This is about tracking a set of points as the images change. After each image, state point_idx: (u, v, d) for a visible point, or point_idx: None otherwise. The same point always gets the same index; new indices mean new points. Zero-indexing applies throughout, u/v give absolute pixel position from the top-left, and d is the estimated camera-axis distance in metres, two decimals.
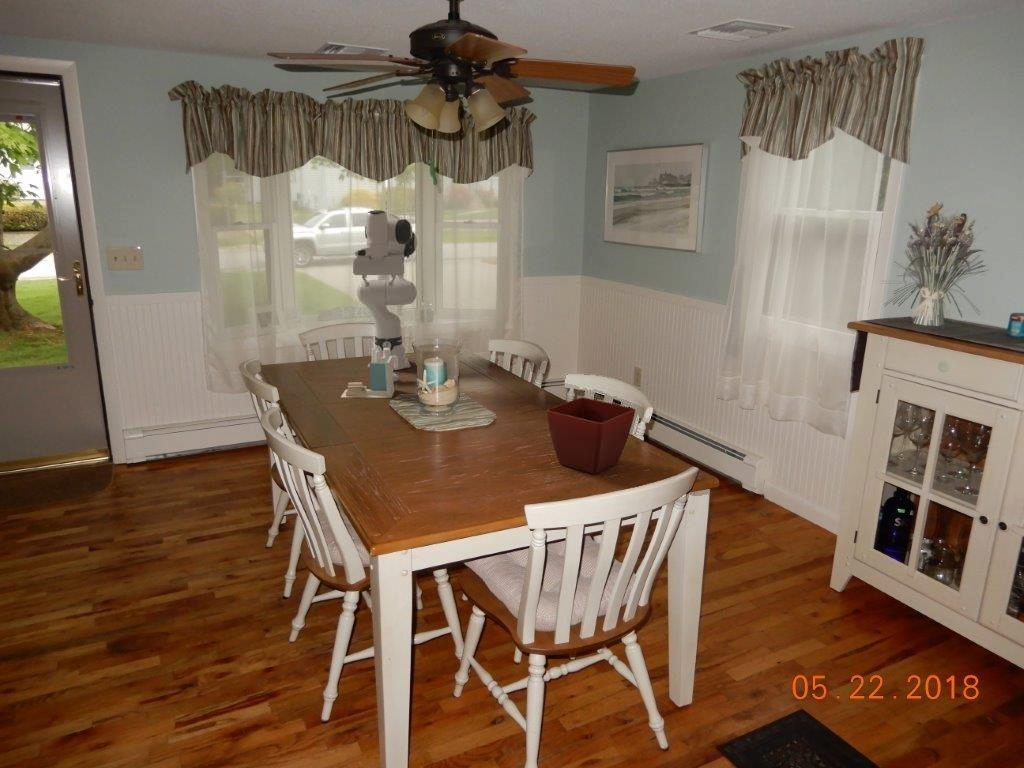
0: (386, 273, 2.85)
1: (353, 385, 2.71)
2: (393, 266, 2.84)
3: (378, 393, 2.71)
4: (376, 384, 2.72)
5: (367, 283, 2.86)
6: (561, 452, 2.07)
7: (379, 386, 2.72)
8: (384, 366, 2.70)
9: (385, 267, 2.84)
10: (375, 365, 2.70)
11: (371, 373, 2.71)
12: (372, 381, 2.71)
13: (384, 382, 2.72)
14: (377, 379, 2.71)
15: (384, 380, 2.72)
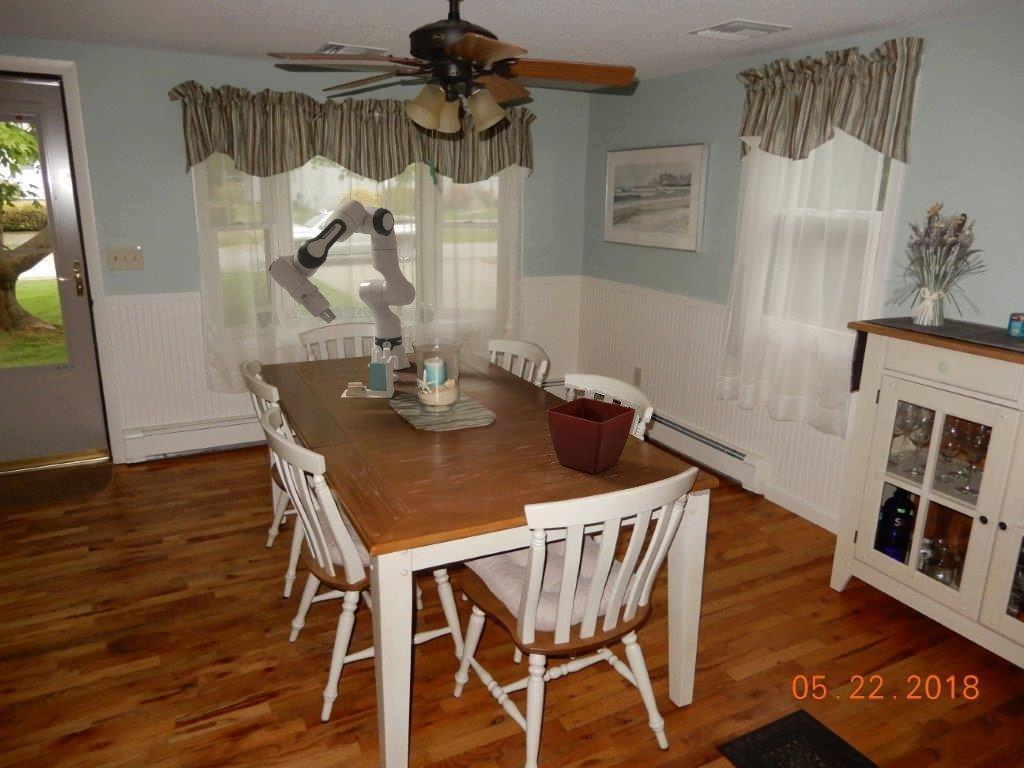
0: None
1: (353, 385, 2.71)
2: None
3: (378, 393, 2.71)
4: (376, 384, 2.72)
5: None
6: (561, 452, 2.07)
7: (379, 386, 2.72)
8: (384, 366, 2.70)
9: None
10: (375, 365, 2.70)
11: (371, 373, 2.71)
12: (372, 381, 2.71)
13: (384, 382, 2.72)
14: (377, 379, 2.71)
15: (384, 380, 2.72)
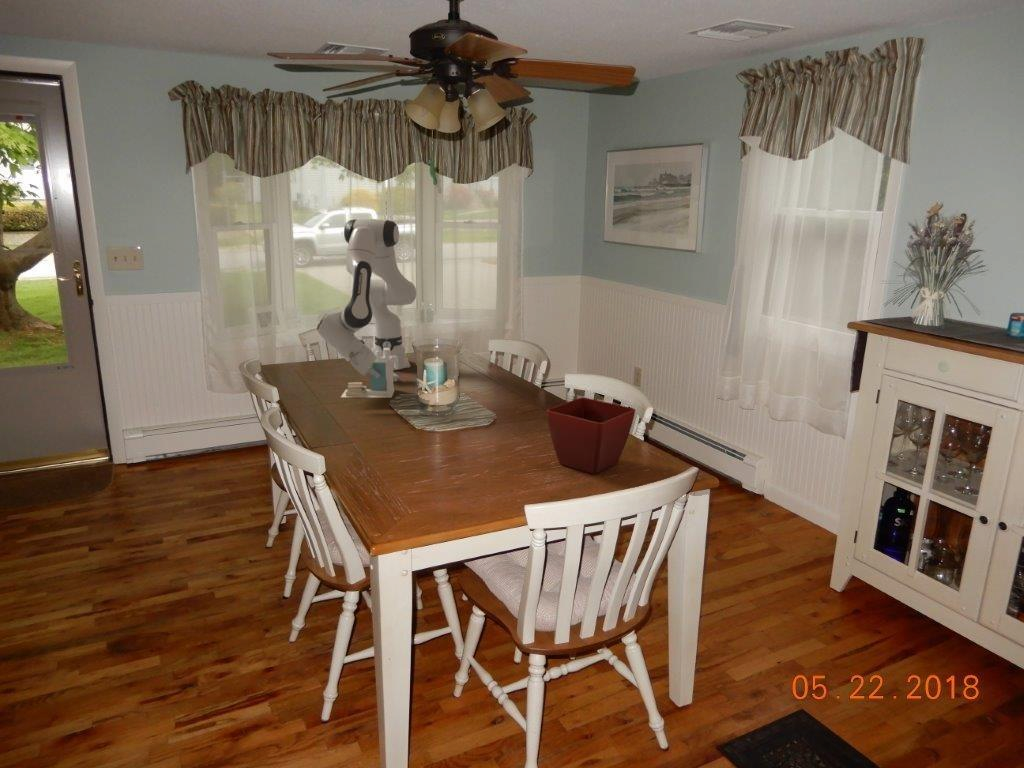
0: None
1: (353, 385, 2.71)
2: None
3: (378, 393, 2.71)
4: (376, 384, 2.72)
5: None
6: (561, 452, 2.07)
7: (379, 386, 2.72)
8: (384, 366, 2.70)
9: None
10: (375, 365, 2.70)
11: None
12: (372, 381, 2.71)
13: (384, 382, 2.72)
14: (377, 379, 2.71)
15: (384, 380, 2.72)
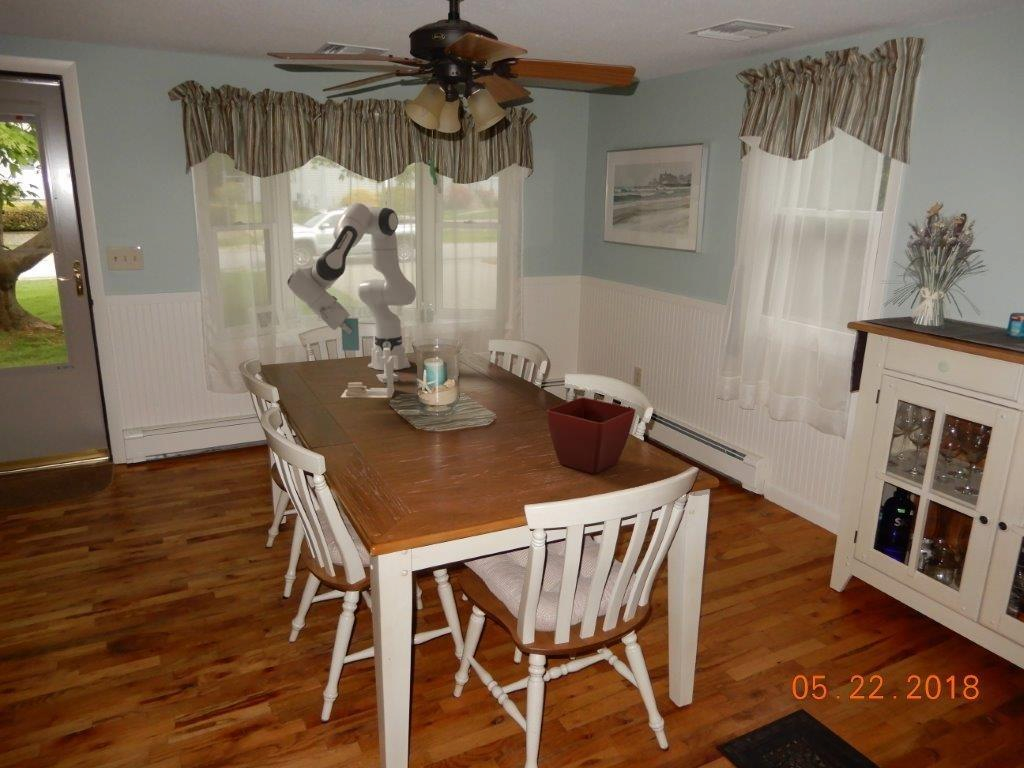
0: None
1: (353, 385, 2.71)
2: None
3: (378, 393, 2.71)
4: (348, 340, 2.68)
5: None
6: (561, 452, 2.07)
7: (351, 343, 2.68)
8: (356, 322, 2.66)
9: None
10: (347, 321, 2.66)
11: None
12: (344, 337, 2.68)
13: (356, 338, 2.68)
14: (349, 335, 2.67)
15: (356, 336, 2.68)
